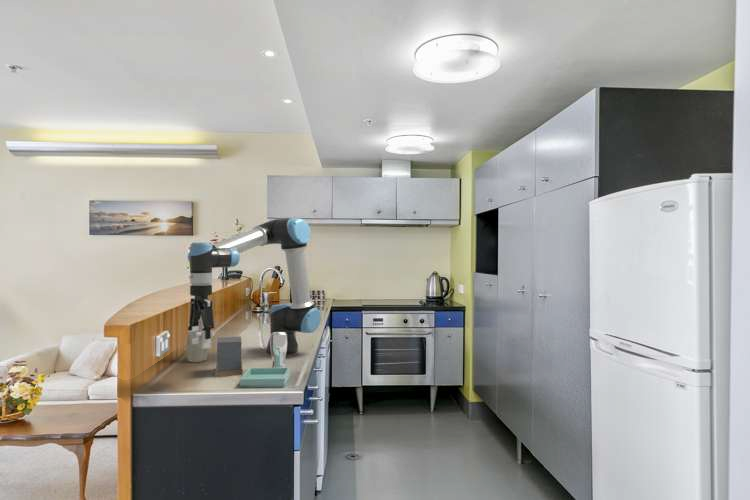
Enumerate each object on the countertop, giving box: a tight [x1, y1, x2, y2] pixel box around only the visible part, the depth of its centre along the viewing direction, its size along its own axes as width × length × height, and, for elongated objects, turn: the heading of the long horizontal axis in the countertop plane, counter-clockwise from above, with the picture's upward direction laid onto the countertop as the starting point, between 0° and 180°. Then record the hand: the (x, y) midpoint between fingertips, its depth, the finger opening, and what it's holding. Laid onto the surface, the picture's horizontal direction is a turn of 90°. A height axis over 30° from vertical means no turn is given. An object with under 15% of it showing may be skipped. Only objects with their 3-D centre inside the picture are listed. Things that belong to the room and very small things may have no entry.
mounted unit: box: [214, 336, 244, 378], centre depth 177 cm, size 13×10×13 cm
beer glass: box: [269, 332, 287, 368], centre depth 180 cm, size 7×7×15 cm
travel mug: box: [187, 318, 208, 363], centre depth 195 cm, size 8×8×18 cm
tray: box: [239, 367, 291, 389], centre depth 164 cm, size 16×16×3 cm
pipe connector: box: [187, 320, 216, 348], centre depth 161 cm, size 10×10×10 cm
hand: (201, 345), depth 161 cm, fingers closed on pipe connector, 9 cm apart
